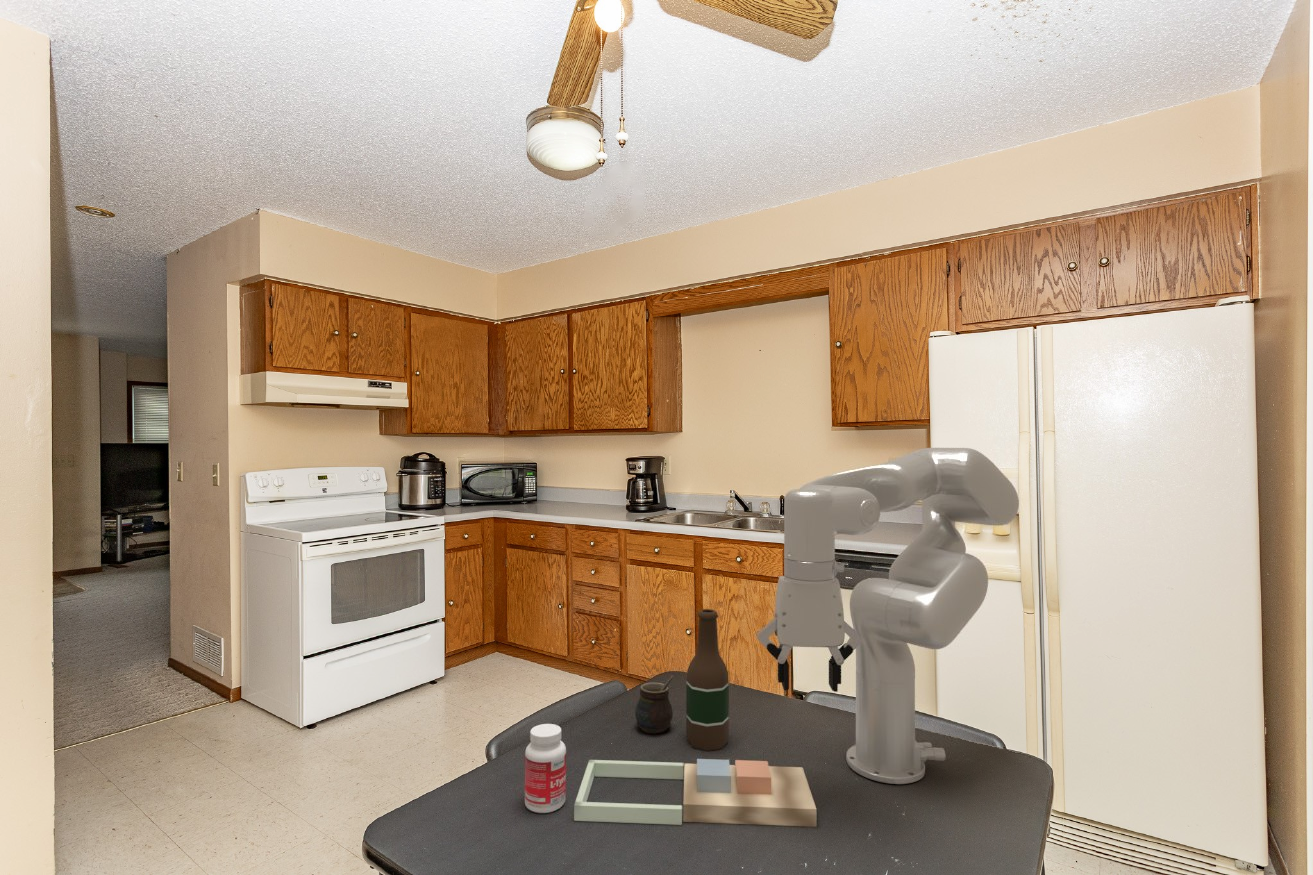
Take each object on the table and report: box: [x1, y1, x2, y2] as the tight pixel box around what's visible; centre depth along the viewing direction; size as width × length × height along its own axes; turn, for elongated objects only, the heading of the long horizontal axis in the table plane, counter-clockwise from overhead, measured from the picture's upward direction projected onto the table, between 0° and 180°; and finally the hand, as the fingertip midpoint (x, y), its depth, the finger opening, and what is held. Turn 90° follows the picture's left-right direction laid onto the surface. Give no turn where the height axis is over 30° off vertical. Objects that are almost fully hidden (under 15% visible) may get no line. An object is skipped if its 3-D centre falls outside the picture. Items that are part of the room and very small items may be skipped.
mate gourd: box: [634, 674, 675, 734], centre depth 124 cm, size 7×8×10 cm
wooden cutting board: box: [682, 763, 818, 828], centre depth 99 cm, size 19×12×2 cm, turn 87°
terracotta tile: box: [734, 759, 771, 794], centre depth 99 cm, size 5×5×2 cm
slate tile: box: [696, 758, 731, 793], centre depth 99 cm, size 5×5×2 cm
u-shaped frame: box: [573, 759, 684, 826], centre depth 100 cm, size 16×14×2 cm
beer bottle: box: [685, 608, 730, 752], centre depth 118 cm, size 8×8×24 cm
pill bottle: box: [524, 723, 567, 814], centre depth 98 cm, size 6×6×11 cm
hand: (809, 686), depth 98 cm, fingers open, 6 cm apart
